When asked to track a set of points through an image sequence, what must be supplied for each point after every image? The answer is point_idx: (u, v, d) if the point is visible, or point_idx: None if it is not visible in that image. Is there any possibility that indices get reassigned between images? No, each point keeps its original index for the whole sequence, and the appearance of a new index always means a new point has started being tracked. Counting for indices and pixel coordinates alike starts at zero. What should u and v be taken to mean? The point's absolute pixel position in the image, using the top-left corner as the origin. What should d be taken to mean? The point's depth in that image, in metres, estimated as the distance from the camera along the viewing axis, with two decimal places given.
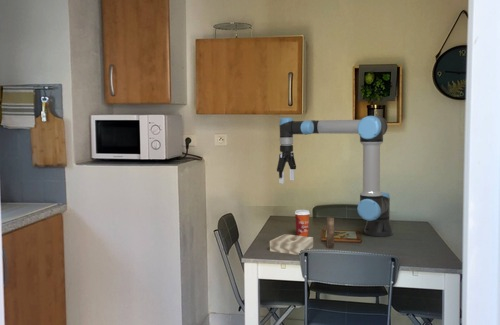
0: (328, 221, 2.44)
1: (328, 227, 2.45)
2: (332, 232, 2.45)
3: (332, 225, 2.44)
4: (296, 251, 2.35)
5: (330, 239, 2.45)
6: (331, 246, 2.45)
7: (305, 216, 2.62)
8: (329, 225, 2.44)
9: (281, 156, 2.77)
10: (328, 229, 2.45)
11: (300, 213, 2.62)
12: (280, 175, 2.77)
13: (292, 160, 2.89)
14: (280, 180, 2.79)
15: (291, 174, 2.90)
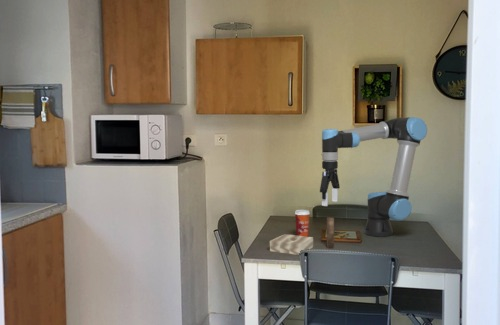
0: (328, 221, 2.44)
1: (328, 227, 2.45)
2: (332, 232, 2.45)
3: (332, 225, 2.44)
4: (296, 251, 2.35)
5: (330, 239, 2.45)
6: (331, 246, 2.45)
7: (305, 216, 2.62)
8: (329, 225, 2.44)
9: (325, 174, 2.38)
10: (328, 229, 2.45)
11: (300, 213, 2.62)
12: (323, 196, 2.37)
13: (335, 178, 2.50)
14: (323, 202, 2.39)
15: (334, 194, 2.50)
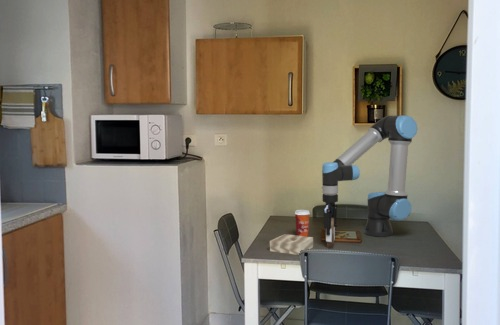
0: None
1: None
2: (332, 232, 2.45)
3: (332, 225, 2.44)
4: (296, 251, 2.35)
5: None
6: (331, 246, 2.45)
7: (305, 216, 2.62)
8: None
9: (326, 212, 2.40)
10: None
11: (300, 213, 2.62)
12: (327, 232, 2.43)
13: (334, 214, 2.49)
14: (327, 238, 2.45)
15: None
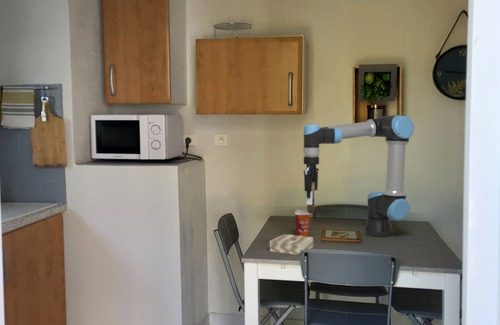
0: None
1: None
2: (313, 196, 2.42)
3: (313, 189, 2.42)
4: (296, 251, 2.35)
5: None
6: (311, 211, 2.43)
7: (305, 216, 2.62)
8: None
9: (306, 173, 2.37)
10: None
11: (300, 213, 2.62)
12: (308, 195, 2.40)
13: None
14: (308, 201, 2.42)
15: None
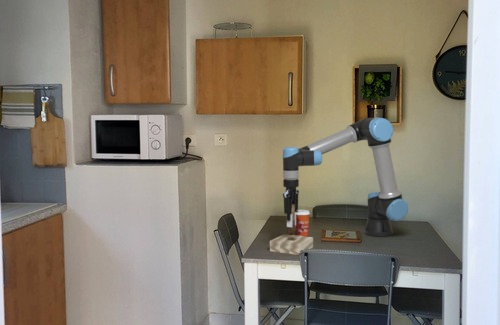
0: None
1: None
2: (293, 219, 2.43)
3: (293, 212, 2.42)
4: (296, 251, 2.35)
5: None
6: (292, 233, 2.43)
7: (305, 216, 2.62)
8: None
9: (285, 196, 2.38)
10: None
11: (300, 213, 2.62)
12: (288, 218, 2.41)
13: None
14: (288, 223, 2.42)
15: None
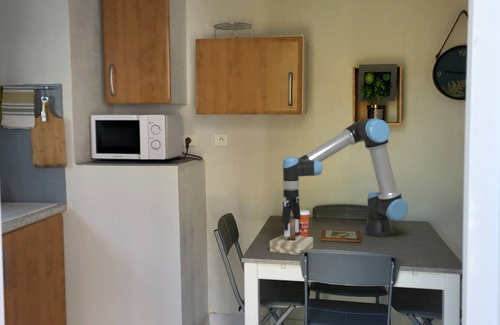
0: (289, 222, 2.44)
1: None
2: (293, 233, 2.44)
3: (293, 226, 2.43)
4: (296, 251, 2.35)
5: (291, 240, 2.44)
6: None
7: (305, 216, 2.62)
8: (290, 226, 2.43)
9: (285, 205, 2.38)
10: None
11: (300, 213, 2.62)
12: (285, 227, 2.39)
13: (297, 207, 2.49)
14: (285, 233, 2.40)
15: (295, 225, 2.49)
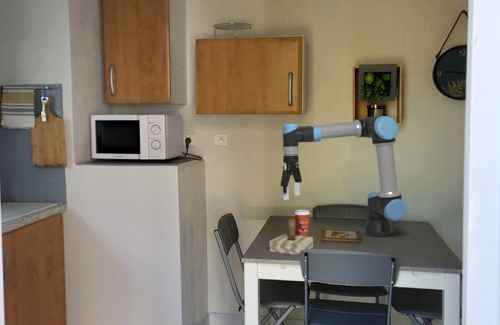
0: (289, 222, 2.43)
1: (289, 228, 2.43)
2: (293, 233, 2.43)
3: (293, 226, 2.43)
4: (296, 251, 2.35)
5: None
6: None
7: (305, 216, 2.62)
8: (290, 226, 2.43)
9: (285, 168, 2.39)
10: (289, 230, 2.43)
11: (300, 213, 2.62)
12: (284, 190, 2.39)
13: (297, 172, 2.52)
14: (284, 196, 2.41)
15: (296, 188, 2.52)
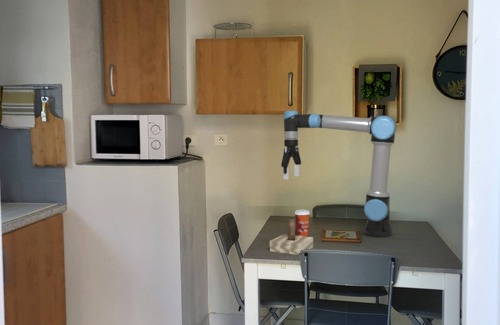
0: (289, 222, 2.43)
1: (289, 228, 2.43)
2: (293, 233, 2.43)
3: (293, 226, 2.43)
4: (296, 251, 2.35)
5: None
6: None
7: (305, 216, 2.62)
8: (290, 226, 2.43)
9: (286, 151, 2.66)
10: (289, 230, 2.43)
11: (300, 213, 2.62)
12: (285, 170, 2.66)
13: (297, 155, 2.78)
14: (285, 176, 2.67)
15: (296, 170, 2.79)
